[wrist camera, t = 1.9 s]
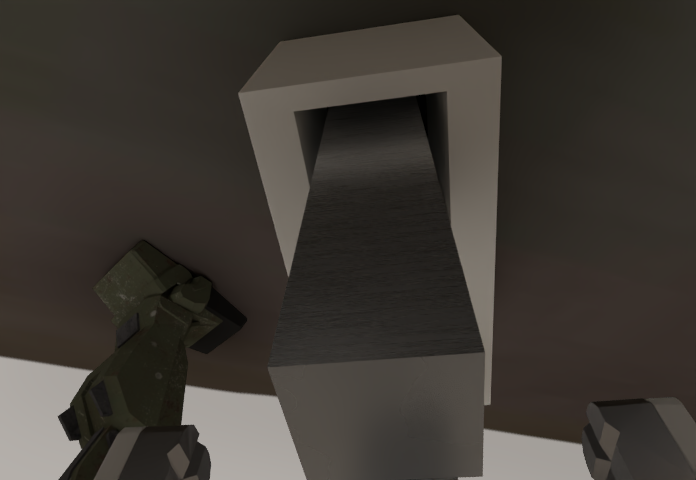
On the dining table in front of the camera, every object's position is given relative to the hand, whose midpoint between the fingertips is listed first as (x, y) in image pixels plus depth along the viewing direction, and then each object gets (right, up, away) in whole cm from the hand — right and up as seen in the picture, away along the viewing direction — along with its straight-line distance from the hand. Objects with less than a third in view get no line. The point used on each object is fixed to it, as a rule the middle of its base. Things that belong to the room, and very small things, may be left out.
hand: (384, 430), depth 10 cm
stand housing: (+2, +7, +22) cm, 23 cm away
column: (+1, +12, +18) cm, 22 cm away
